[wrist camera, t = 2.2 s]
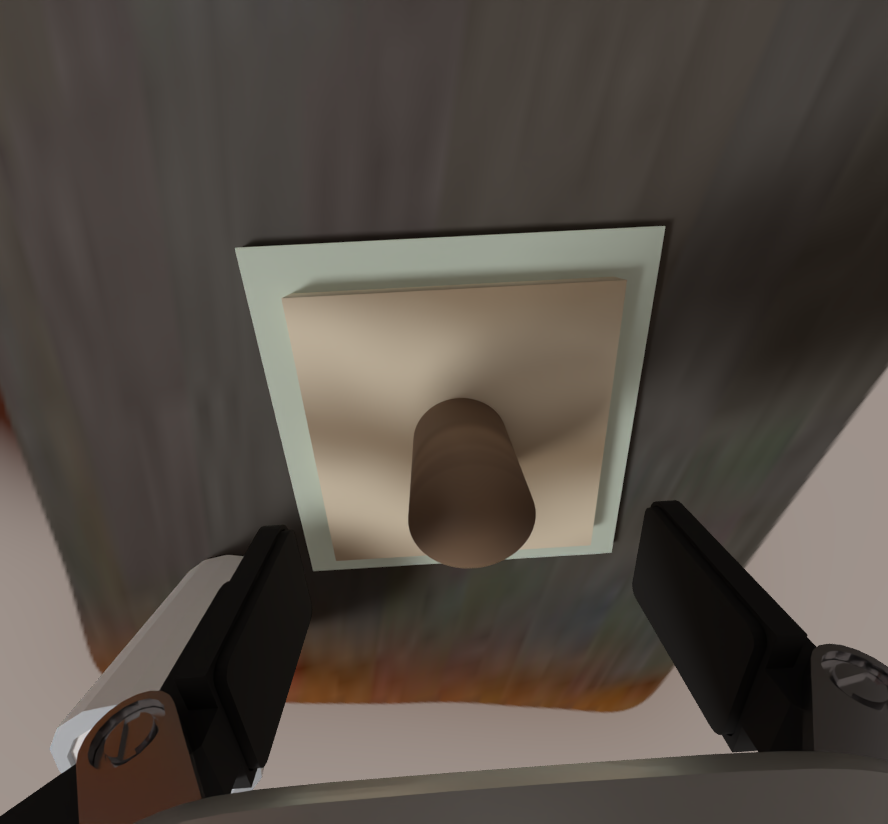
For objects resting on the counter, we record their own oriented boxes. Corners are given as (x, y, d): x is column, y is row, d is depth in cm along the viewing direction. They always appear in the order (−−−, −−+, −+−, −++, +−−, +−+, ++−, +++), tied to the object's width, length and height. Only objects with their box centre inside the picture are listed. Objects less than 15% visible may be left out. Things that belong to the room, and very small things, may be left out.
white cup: (175, 529, 18) (41, 691, 12) (326, 563, 20) (277, 727, 13) (164, 629, 21) (49, 805, 15) (298, 654, 22) (245, 827, 16)
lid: (290, 293, 14) (212, 332, 9) (614, 276, 14) (718, 305, 9) (340, 544, 18) (307, 663, 13) (582, 529, 19) (640, 642, 14)
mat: (241, 247, 14) (234, 247, 13) (657, 225, 14) (665, 226, 13) (315, 563, 19) (313, 571, 19) (607, 545, 20) (611, 552, 19)
